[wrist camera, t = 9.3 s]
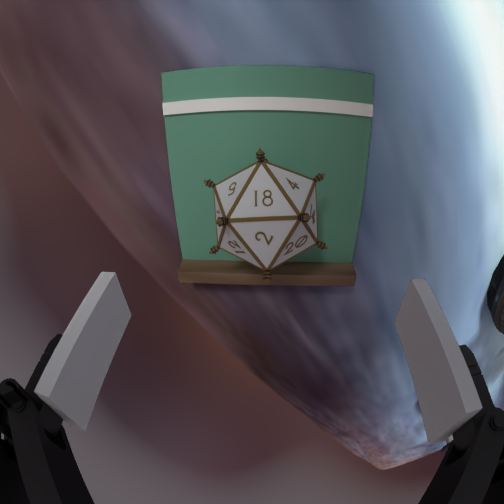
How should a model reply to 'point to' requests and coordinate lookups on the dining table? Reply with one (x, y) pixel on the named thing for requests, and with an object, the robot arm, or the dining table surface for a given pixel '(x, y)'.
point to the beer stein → (497, 296)
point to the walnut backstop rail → (280, 275)
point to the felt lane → (268, 144)
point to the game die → (266, 214)
